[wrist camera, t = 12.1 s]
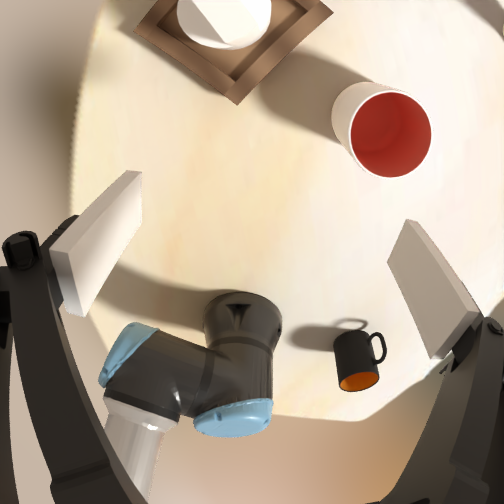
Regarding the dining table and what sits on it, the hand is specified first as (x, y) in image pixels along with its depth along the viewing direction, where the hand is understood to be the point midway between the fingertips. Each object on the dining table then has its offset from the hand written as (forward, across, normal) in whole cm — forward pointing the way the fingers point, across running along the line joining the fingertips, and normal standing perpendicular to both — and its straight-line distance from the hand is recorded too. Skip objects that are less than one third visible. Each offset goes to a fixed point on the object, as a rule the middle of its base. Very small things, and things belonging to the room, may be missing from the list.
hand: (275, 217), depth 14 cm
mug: (+28, -27, +39) cm, 55 cm away
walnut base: (+27, +6, -13) cm, 30 cm away
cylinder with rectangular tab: (+24, +6, -13) cm, 28 cm away
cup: (+27, -12, -4) cm, 30 cm away
